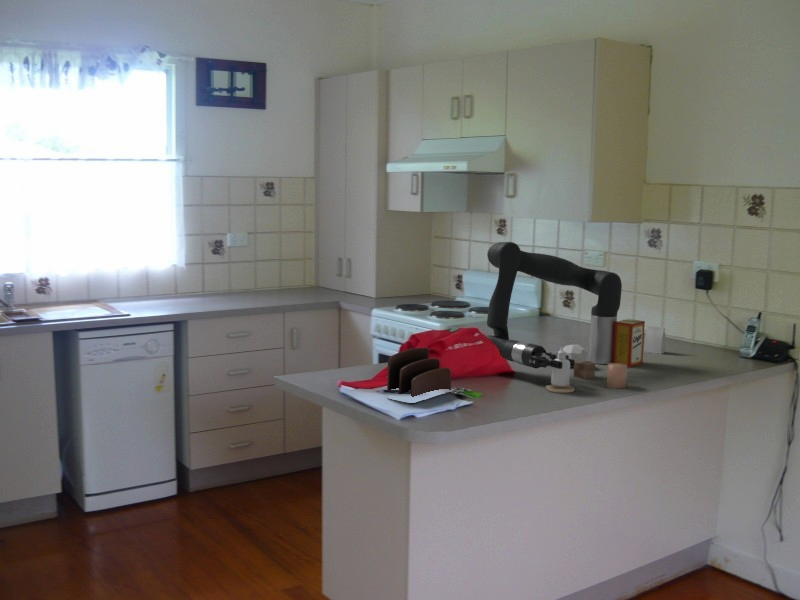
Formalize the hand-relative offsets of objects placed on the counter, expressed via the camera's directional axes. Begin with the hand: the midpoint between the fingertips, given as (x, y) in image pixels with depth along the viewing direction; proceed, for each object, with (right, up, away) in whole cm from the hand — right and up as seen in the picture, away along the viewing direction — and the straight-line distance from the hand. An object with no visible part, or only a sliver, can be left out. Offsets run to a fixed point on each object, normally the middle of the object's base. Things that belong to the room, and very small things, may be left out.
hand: (567, 364), depth 274 cm
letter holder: (-47, -9, -7) cm, 48 cm away
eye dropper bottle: (-2, -7, +3) cm, 8 cm away
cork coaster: (-2, -8, +3) cm, 9 cm away
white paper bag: (+46, 0, +64) cm, 79 cm away
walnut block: (+10, -6, +21) cm, 24 cm away
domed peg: (+18, -8, +9) cm, 21 cm away
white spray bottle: (+6, -3, +40) cm, 40 cm away
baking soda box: (+30, -3, +43) cm, 52 cm away
